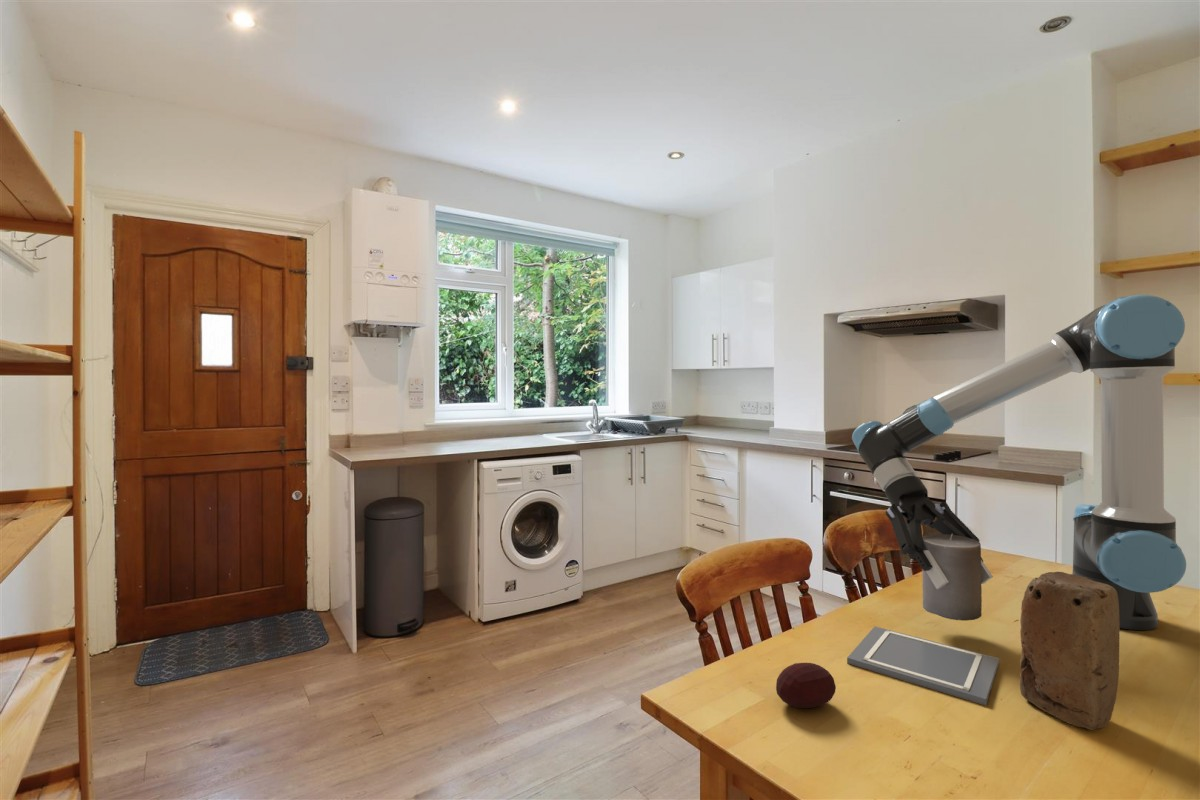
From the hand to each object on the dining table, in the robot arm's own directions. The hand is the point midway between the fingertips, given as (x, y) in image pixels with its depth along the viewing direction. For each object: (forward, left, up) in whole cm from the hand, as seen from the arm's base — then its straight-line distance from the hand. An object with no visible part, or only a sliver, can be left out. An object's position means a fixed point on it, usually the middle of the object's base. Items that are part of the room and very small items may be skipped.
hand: (965, 582), depth 107 cm
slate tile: (+4, +14, -11) cm, 19 cm away
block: (-15, +17, -12) cm, 26 cm away
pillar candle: (+2, -2, -7) cm, 7 cm away
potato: (+15, +40, -12) cm, 44 cm away
